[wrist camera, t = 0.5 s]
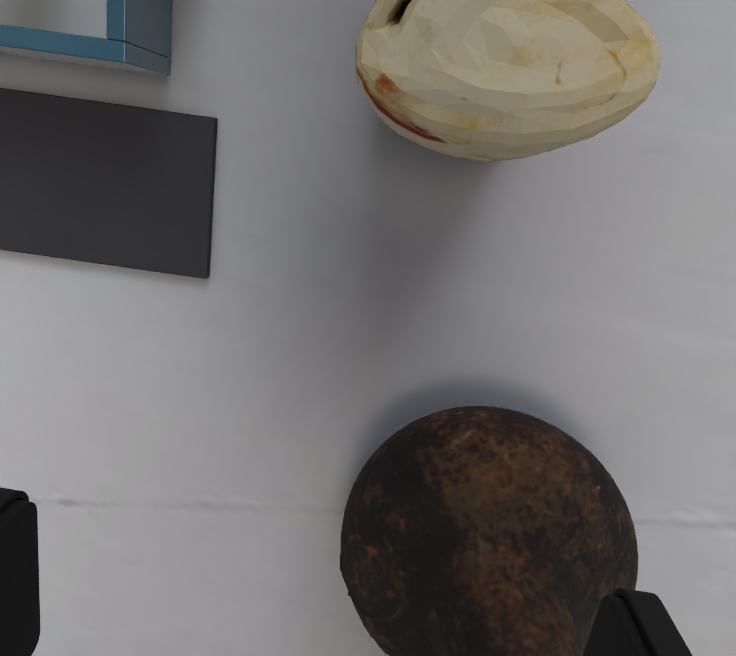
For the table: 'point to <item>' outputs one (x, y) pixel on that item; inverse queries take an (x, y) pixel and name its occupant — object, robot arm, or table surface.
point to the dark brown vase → (484, 538)
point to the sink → (120, 51)
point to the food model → (504, 72)
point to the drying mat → (106, 183)
